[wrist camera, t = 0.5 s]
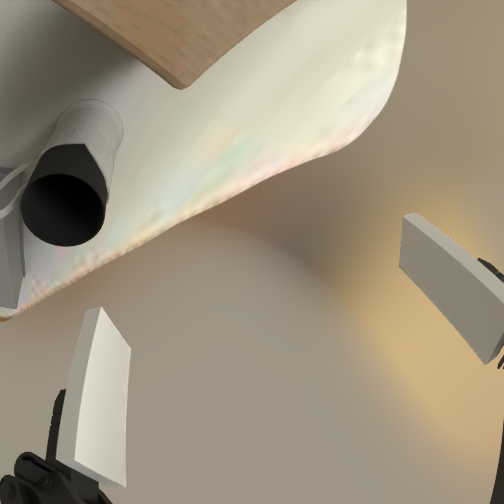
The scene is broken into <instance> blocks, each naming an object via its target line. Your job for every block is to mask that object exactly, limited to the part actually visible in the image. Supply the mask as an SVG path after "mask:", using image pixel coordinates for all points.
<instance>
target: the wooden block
mask: <svg viewBox="0 0 504 504" xmlns="http://www.w3.org/2000/svg"><path fill="white" fill-rule="evenodd" d="M52 1H54V2H55V3H57V4H59V5H60V6H62V7H63V8H65V9H66V10H68V11H70V12H71V13H73V14H74V15H76V16H77V17H79V18H80V19H82V20H83V21H85V22H86V23H88V24H89V25H91V26H92V27H94V28H95V29H97V30H98V31H99V32H101V33H102V34H104V35H105V36H107V37H108V38H109V39H111V40H112V41H114V42H115V43H116V44H118V45H119V46H120V47H122V48H123V49H125V50H126V51H127V52H129V53H130V54H131V55H133V56H134V57H135V58H137V59H138V60H139V61H141V62H142V63H143V64H145V65H146V66H147V67H148V68H150V69H151V70H152V71H154V72H155V73H156V74H157V75H159V76H160V77H161V78H163V79H164V80H165V81H166V82H168V83H169V84H170V85H171V86H173V87H174V88H176V89H180V90H183V89H185V88H187V87H189V86H190V85H191V84H192V83H193V82H194V81H195V80H196V79H198V78H199V77H200V76H201V75H202V74H203V73H204V72H205V71H206V70H207V69H208V68H210V67H211V66H212V65H213V64H214V63H215V62H216V61H217V60H219V59H220V58H221V57H222V56H223V55H224V54H226V53H227V52H228V51H229V50H230V49H232V48H233V47H234V46H235V45H236V44H238V43H239V42H240V41H241V40H243V39H244V38H245V37H246V36H248V35H249V34H250V33H252V32H253V31H254V30H255V29H257V28H258V27H259V26H261V25H262V24H263V23H265V22H266V21H268V20H269V19H270V18H272V17H273V16H275V15H276V14H277V13H279V12H280V11H282V10H283V9H285V8H286V7H288V6H289V5H291V4H292V3H294V2H295V1H297V0H52Z"/></svg>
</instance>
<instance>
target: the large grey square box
mask: <svg viewBox="0 0 504 504" xmlns="http://www.w3.org/2000/svg"><path fill="white" fill-rule="evenodd" d="M13 170H15V169H8V168H2V167H0V182H1V181H2V180H3V179H4V178H5V177H6V176H7V175H8V174H9V173H10V172H12V171H13ZM23 173H24V171H22V172H21V173H19V174H18V175H17V176H15V177H14V178H13V179H12V180H10V181H9V182H8V183H7V184H6V185H5V186H4V187H3V188H2V189H1V190H0V211H1V210H2V209H4V208H5V207H6V206H7V205H8V204H10V202H11V201H12V200H13V199H14V197H15V196H16V194H17V192H18V190H19V189H20V187H21V186H22V185H23ZM20 204H21V200H20V201H19V203H18V205H17V206H16V207H15V208H14V210H12V211H11V212H10V213H9V214H8V215H6V216H5V217H3V218H1V219H0V307H6V308H12V309H17V304H18V298H19V293H20V288H21V283H22V279H23V277H25V274H26V272H25V262H24V248H23V227H22V215H21V209H20Z"/></svg>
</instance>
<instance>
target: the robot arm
mask: <svg viewBox="0 0 504 504" xmlns="http://www.w3.org/2000/svg"><path fill="white" fill-rule="evenodd" d="M399 267H400V268H401V269H402V270H403V271H404V273H405V274H406V275H407V276H408V277H409V278H410V279H411V280H412V281H413V282H414V283H415V284H416V285H417V286H418V287H419V288H420V289H421V290H422V291H423V293H424V294H425V295H426V296H427V297H428V298H429V299H430V300H431V301H432V302H433V304H434V305H435V306H436V307H437V308H438V309H439V310H440V311H441V312H442V313H443V315H444V316H445V317H446V318H447V319H448V320H449V322H450V323H451V324H452V325H453V326H454V328H455V329H456V330H457V331H458V332H459V333H460V334H461V336H462V337H463V338H464V339H465V341H466V342H467V343H468V344H469V346H470V347H471V348H472V349H473V350H474V352H475V353H476V354H477V356H478V357H479V358H480V359H481V361H482V362H483V363H484V364H485V365H486V364H487V363H489V362H490V361H491V360H493V359H494V358H495V357H497V356H498V354H499V352H500V350H501V349H502V347H503V345H504V275H503V274H502V273H499V271H498V270H497V269H496V268H495V267H494V266H493V265H491V264H490V263H488V262H486V261H484V260H482V259H480V258H478V259H476V258H474V257H473V256H472V255H471V254H469V253H468V252H467V251H466V250H465V249H463V248H462V247H461V246H460V245H458V244H457V243H456V242H455V241H453V240H452V239H451V238H450V237H448V236H447V235H446V234H444V233H443V232H442V231H440V230H439V229H438V228H437V227H435V226H434V225H432V224H431V223H429V222H428V221H427V220H426V219H424V218H423V217H422V216H420V215H419V214H417V213H416V212H414V213H411V214H408V215H405V216H403V217H402V235H401V248H400V260H399ZM130 354H131V349H130V347H129V346H128V345H127V343H126V342H125V340H124V339H123V338H122V336H121V335H120V333H119V332H118V330H117V329H116V328H115V326H114V325H113V323H112V322H111V320H110V319H109V317H108V316H107V314H106V313H105V311H104V310H103V308H102V307H98V308H94V309H90V310H87V311H86V314H85V318H84V321H83V325H82V328H81V331H80V335H79V339H78V342H77V347H76V351H75V354H74V358H73V362H72V366H71V370H70V375H69V380H68V385H67V389H66V390H65V389H64V390H61V391H60V393H59V395H58V396H57V398H56V400H55V403H54V408H53V416H52V420H51V426H50V431H49V438H48V445H47V453H46V459H45V460H43V459H42V458H40V457H38V456H37V455H35V454H34V453H31V452H24V453H22V454H21V455H20V456H19V457H18V458H17V460H16V463H15V466H14V475H15V477H14V476H11V475H5V476H4V477H3V478H2V479H1V481H0V501H1V504H112V503H111V501H110V500H109V499H108V498H107V496H106V495H105V494H104V493H103V492H102V491H101V490H100V489H99V488H98V487H99V483H101V484H103V485H105V486H107V487H126V457H125V456H126V448H125V447H126V409H127V390H128V377H129V365H130ZM503 362H504V355H503V357H502V358H501V360H500V362H499V363H498V369H500V367H501V366H502V364H503ZM503 369H504V367H503ZM490 504H504V424H503V434H502V443H501V451H500V458H499V464H498V469H497V475H496V480H495V484H494V489H493V493H492V497H491V501H490Z"/></svg>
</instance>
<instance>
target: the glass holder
mask: <svg viewBox="0 0 504 504" xmlns="http://www.w3.org/2000/svg"><path fill="white" fill-rule="evenodd" d="M122 137H123V124H122V120H121V118H120V116H119V114H118V113H117V111H116V110H115V109H114V108H113V107H112V106H110V105H109V104H107V103H105V102H103V101H100V100H96V99H86V100H81V101H78V102H76V103H74V104H72V105H70V106H69V107H68V108H66V109H65V110H64V112H63V113H62V114H61V116H60V117H59V119H58V121H57V124H56V128H55V131H54V133H53V134H52V136H51V138H50V139H49V141H48V143H47V144H46V146H45V148H44V150H43V151H42V153H41V154H39V155H37V156H35V157H34V158H32V159H30V160H29V161H27V162H25V163H24V164H22V165H21V166H19V167H18V168H16V169H15V170H13V171H12V172H10V173H9V174H8V175H7V176H6V177H5V178H4V179H3V180H2V181H1V182H0V190H1V189H2V188H3V187H4V186H5V185H6V184H7V183H8V182H9V181H10V180H12V179H13V178H14V177H15V176H17V175H18V174H19V173H21V172H22V171H24V170H25V169H27V168H28V167H30V166H32V165H33V164H35V163H36V166H35V170H34V172H33V174H32V176H31V178H30V180H29V182H27V183H25V184H24V185H22V186H21V187H20V189H19V190H18V192H17V194H16V196H15V197H14V199H13V200H12V201H11V202H10V204H8V205H7V206H6V207H5V208H4V209H2V210H1V211H0V219H1V218H3V217H5V216H6V215H8V214H9V213H10V212H11V211H12V210H14V208H15V207H16V206H17V205H18V203H19V201H20V200H21V204H20V209H21V215H22V218H23V221H24V223H25V224H26V226H27V227H28V229H29V230H30V231H31V232H32V233H33V234H34V235H35V236H36V237H38V238H39V239H41V240H43V241H45V242H47V243H49V244H52V245H56V246H65V247H68V246H76V245H80V244H83V243H85V242H87V241H89V240H90V239H92V238H93V237H94V236H95V235H96V234H97V233H98V232H99V231H100V229H101V227H102V225H103V222H104V219H105V210H106V204H107V203H108V200H109V194H110V187H111V180H112V173H113V167H114V161H115V155H116V151H117V149H118V147H119V146H120V144H121V141H122Z"/></svg>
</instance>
